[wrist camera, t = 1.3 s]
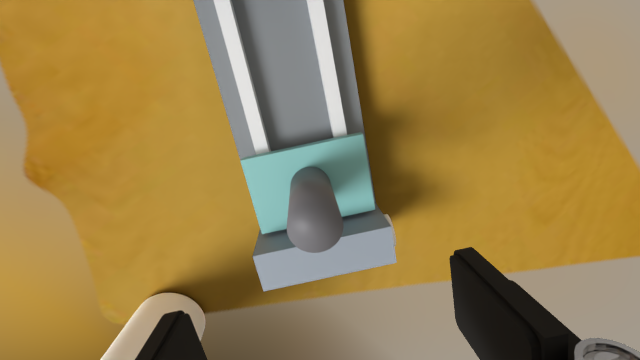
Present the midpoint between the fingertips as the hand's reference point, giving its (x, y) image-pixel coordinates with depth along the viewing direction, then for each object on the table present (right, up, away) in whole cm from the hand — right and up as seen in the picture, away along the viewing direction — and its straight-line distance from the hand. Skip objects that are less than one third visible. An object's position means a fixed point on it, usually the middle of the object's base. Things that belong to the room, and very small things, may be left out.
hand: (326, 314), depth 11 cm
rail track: (-2, +11, +14) cm, 17 cm away
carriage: (-1, +5, +13) cm, 14 cm away
